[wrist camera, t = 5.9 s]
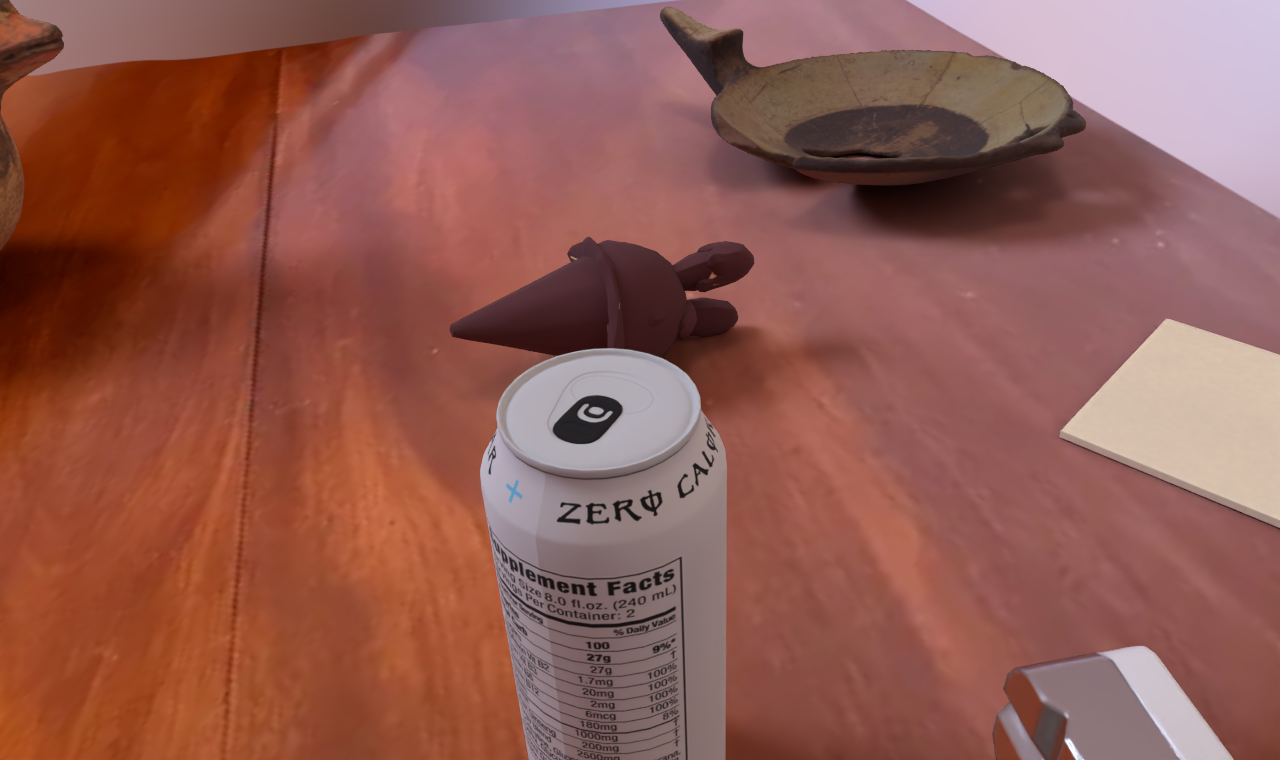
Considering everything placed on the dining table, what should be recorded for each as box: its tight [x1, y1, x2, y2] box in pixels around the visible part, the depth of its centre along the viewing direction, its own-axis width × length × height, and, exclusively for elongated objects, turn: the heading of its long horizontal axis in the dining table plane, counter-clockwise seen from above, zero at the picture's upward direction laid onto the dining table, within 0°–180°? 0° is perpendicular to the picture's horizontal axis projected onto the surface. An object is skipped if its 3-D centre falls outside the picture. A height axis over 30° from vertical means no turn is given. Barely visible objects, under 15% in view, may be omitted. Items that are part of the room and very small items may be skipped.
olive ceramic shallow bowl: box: [660, 7, 1086, 185], centre depth 71 cm, size 22×30×8 cm
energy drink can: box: [480, 348, 727, 760], centre depth 29 cm, size 6×6×15 cm
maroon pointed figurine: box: [450, 237, 754, 358], centre depth 51 cm, size 7×7×15 cm
